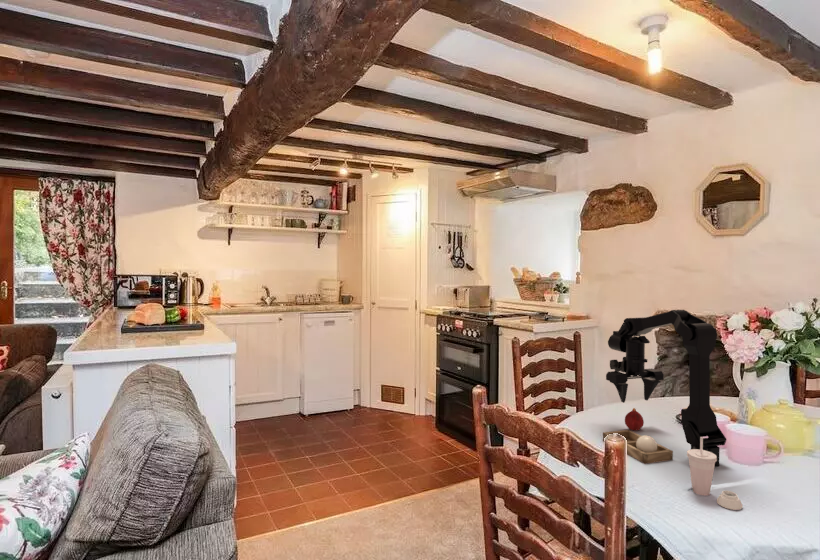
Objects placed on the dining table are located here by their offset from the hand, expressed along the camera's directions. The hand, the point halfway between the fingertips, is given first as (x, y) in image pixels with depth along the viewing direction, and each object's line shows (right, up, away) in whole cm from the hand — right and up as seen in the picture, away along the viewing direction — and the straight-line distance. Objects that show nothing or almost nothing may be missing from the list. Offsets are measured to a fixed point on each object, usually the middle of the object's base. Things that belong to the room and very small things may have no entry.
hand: (634, 401), depth 162 cm
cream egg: (-7, -10, -21) cm, 24 cm away
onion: (0, -11, +1) cm, 11 cm away
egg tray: (-8, -11, -17) cm, 22 cm away
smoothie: (-3, -12, -42) cm, 44 cm away
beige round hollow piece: (0, -13, -48) cm, 50 cm away
